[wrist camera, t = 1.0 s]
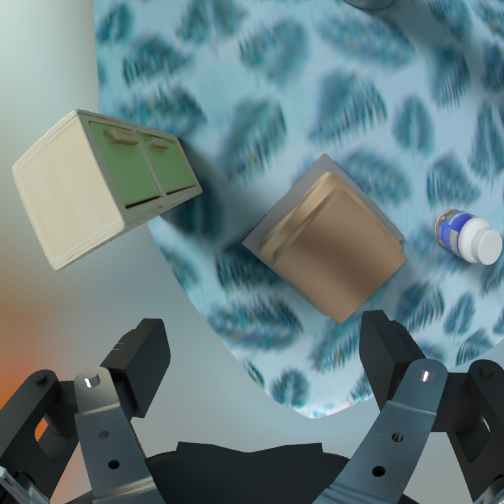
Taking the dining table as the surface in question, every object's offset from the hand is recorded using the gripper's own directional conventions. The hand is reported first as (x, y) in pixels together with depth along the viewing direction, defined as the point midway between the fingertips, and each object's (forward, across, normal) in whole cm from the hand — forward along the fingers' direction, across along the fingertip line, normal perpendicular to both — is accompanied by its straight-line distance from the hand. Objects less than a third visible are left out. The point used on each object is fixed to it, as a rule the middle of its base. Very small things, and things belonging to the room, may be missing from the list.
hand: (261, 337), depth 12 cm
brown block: (+24, -7, +2) cm, 25 cm away
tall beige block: (+25, +11, -6) cm, 28 cm away
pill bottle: (+26, -24, +2) cm, 35 cm away
